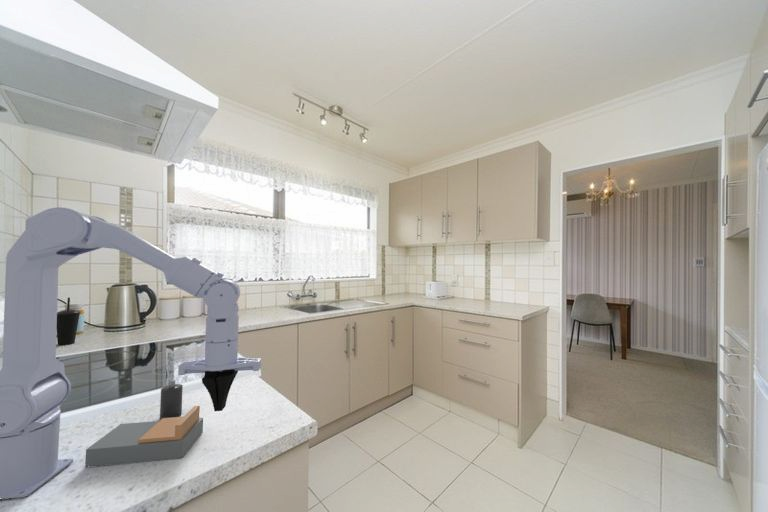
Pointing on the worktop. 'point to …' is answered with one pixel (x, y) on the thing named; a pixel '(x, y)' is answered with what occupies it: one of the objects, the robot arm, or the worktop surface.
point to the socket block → (138, 445)
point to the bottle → (81, 317)
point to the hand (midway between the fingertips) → (220, 408)
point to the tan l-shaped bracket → (171, 427)
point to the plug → (171, 400)
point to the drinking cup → (67, 325)
